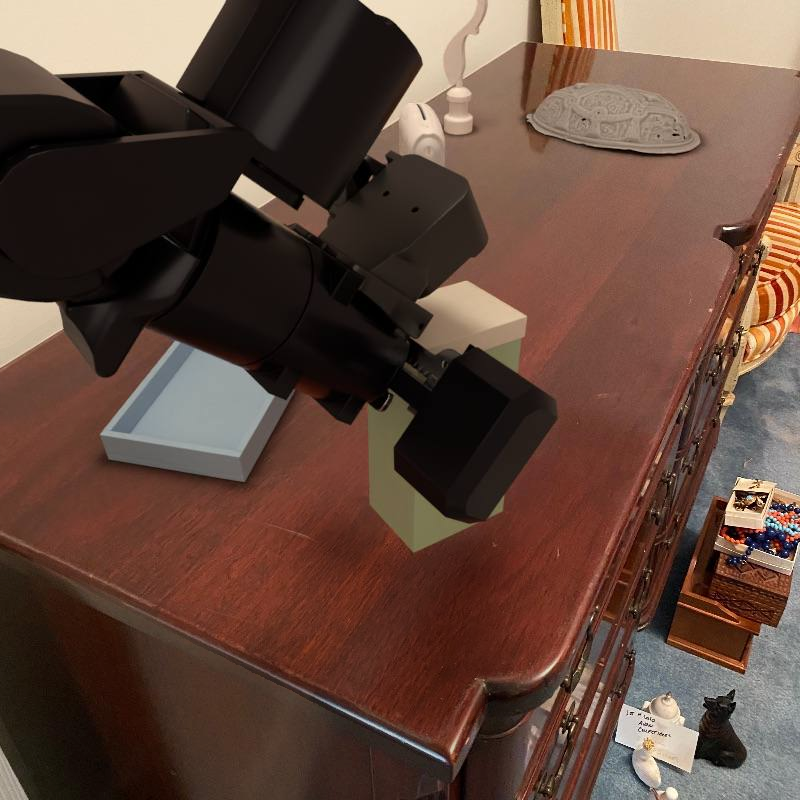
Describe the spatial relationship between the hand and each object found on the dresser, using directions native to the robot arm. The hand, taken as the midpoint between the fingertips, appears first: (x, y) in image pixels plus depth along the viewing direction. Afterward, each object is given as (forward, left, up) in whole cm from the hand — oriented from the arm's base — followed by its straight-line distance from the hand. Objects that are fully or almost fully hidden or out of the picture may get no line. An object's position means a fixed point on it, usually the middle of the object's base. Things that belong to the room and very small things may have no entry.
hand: (461, 402), depth 42 cm
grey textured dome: (+74, +34, -14) cm, 82 cm away
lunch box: (-2, 0, -7) cm, 7 cm away
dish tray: (+5, +28, -13) cm, 31 cm away
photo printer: (+36, +36, -14) cm, 52 cm away
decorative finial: (+60, +50, -14) cm, 79 cm away
